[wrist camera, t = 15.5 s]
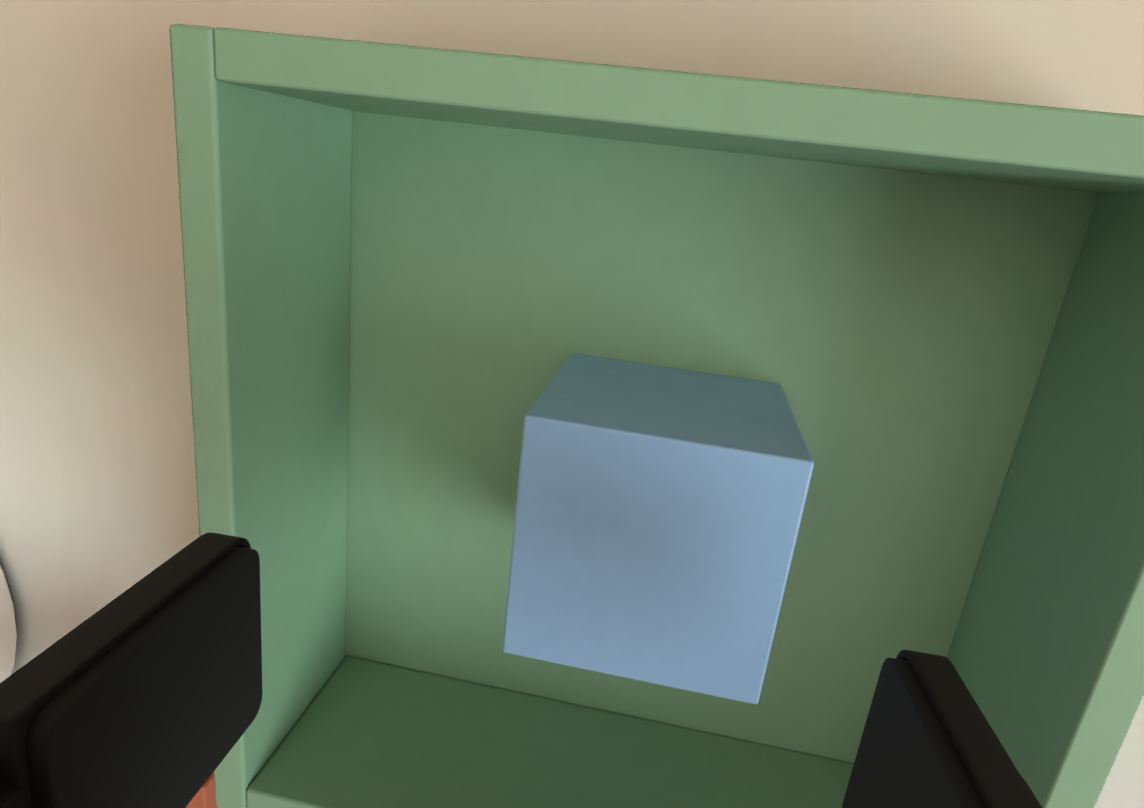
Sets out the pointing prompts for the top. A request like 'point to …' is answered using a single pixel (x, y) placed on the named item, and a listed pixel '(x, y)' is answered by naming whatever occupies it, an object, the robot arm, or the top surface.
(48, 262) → the top surface
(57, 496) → the top surface
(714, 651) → the blue block
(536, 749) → the toy bin
